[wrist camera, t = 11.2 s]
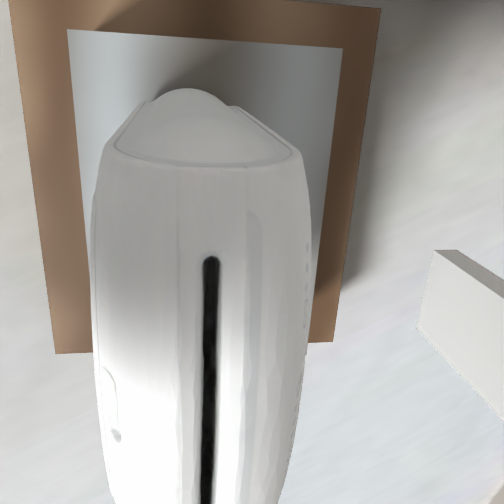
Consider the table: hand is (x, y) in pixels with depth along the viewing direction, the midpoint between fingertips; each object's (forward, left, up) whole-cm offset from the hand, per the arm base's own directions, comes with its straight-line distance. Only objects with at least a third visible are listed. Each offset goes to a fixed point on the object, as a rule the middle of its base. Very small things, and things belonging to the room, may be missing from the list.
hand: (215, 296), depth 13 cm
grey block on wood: (0, 0, -15) cm, 15 cm away
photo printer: (-1, 0, -7) cm, 7 cm away
